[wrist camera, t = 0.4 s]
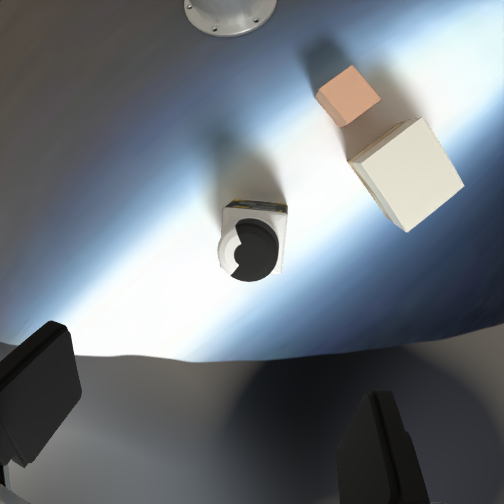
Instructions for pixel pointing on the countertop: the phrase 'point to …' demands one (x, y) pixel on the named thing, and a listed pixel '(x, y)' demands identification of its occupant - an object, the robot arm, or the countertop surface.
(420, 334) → the countertop surface
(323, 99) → the terracotta block
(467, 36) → the countertop surface
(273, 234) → the medicine bottle
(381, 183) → the cream block
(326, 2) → the countertop surface
